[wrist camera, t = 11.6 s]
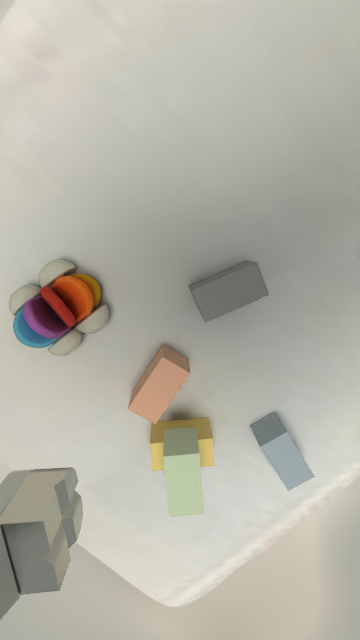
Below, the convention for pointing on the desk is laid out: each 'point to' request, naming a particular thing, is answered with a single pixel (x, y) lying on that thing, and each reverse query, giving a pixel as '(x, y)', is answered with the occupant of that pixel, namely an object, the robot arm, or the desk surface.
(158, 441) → the ochre brick
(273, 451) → the slate brick
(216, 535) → the desk surface
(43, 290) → the multicolored fanned-prong toy
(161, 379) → the terracotta brick
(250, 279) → the charcoal brick
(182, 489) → the sage brick
